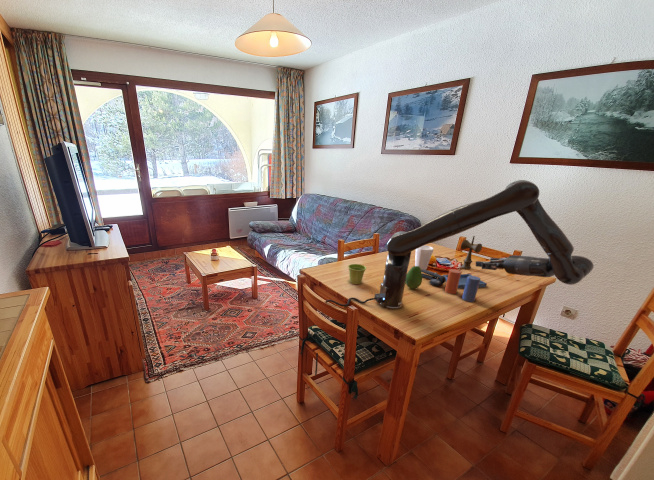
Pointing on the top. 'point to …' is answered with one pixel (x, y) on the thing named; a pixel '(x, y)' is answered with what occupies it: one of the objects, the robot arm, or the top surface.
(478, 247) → the kendama
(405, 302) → the top surface
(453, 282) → the terracotta tin
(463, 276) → the blue tray
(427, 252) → the foam cup
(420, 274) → the fruit
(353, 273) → the plant pot
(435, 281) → the can opener
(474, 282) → the blue tin
